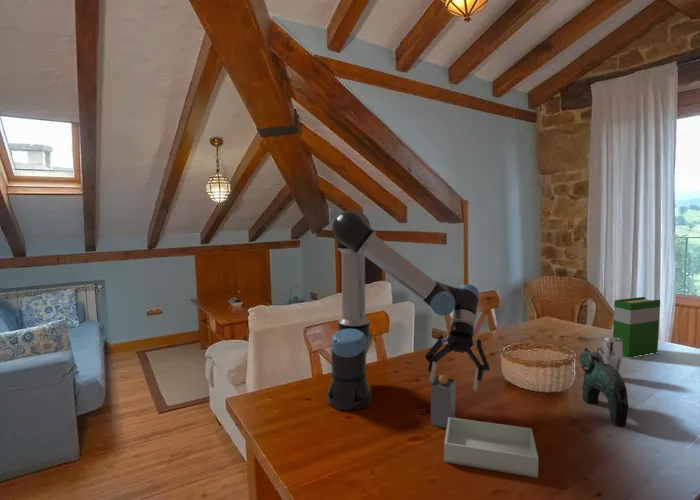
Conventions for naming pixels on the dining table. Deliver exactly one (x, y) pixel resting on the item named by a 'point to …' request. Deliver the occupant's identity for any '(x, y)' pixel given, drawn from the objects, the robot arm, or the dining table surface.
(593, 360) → the teal animal figurine
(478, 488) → the dining table surface
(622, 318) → the hardback book
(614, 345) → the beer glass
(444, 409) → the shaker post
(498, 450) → the tray
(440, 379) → the ball
